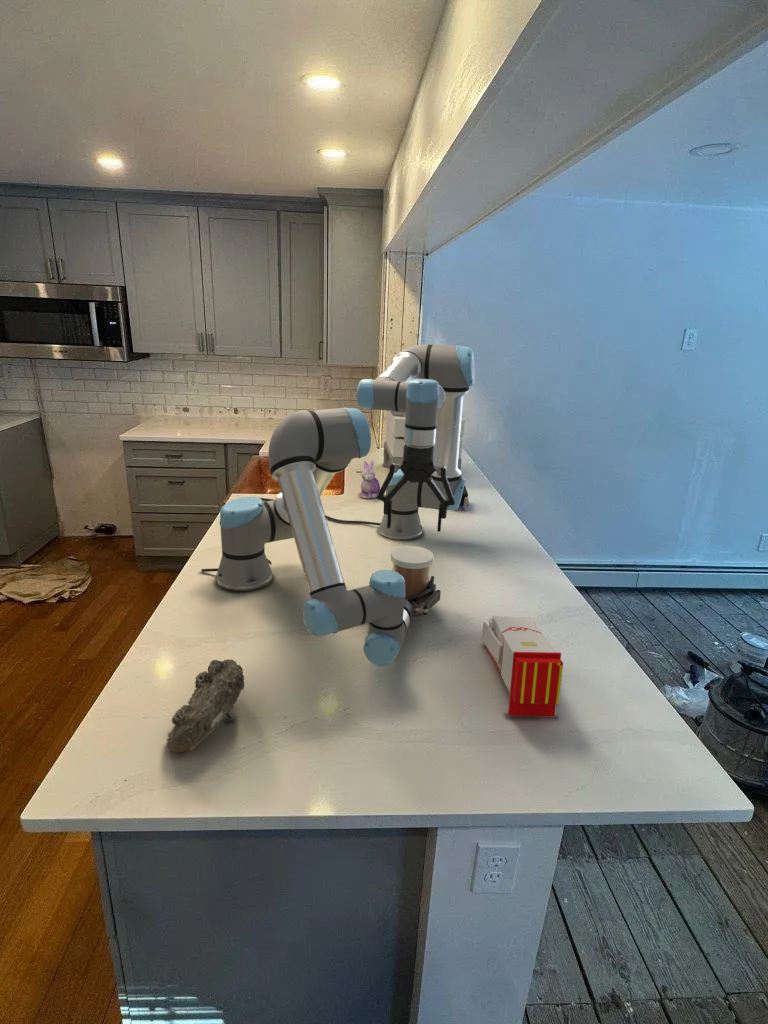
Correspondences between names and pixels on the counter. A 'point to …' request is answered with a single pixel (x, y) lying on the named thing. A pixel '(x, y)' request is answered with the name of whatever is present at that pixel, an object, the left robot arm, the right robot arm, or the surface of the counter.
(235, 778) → the counter surface
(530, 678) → the toy
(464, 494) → the figurine character
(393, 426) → the white wooden crate
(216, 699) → the fossil
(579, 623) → the counter surface
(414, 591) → the jar
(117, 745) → the counter surface
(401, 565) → the lid
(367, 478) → the figurine
